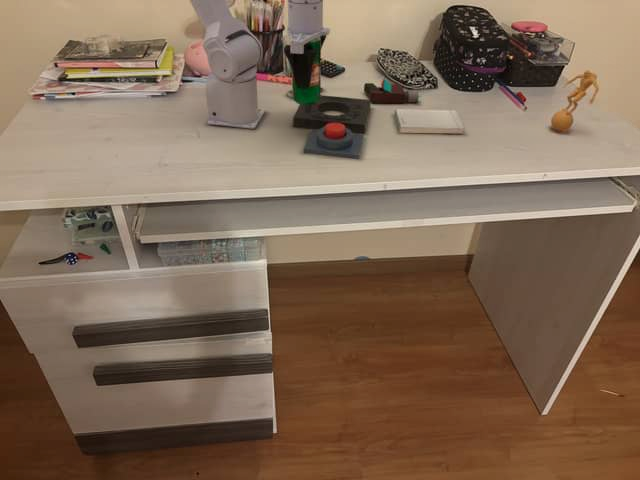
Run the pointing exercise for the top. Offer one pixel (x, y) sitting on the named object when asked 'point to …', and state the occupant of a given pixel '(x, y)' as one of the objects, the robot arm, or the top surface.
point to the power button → (335, 130)
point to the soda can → (313, 92)
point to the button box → (334, 144)
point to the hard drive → (428, 121)
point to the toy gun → (389, 93)
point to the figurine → (574, 101)
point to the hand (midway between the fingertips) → (306, 82)
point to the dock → (351, 119)
